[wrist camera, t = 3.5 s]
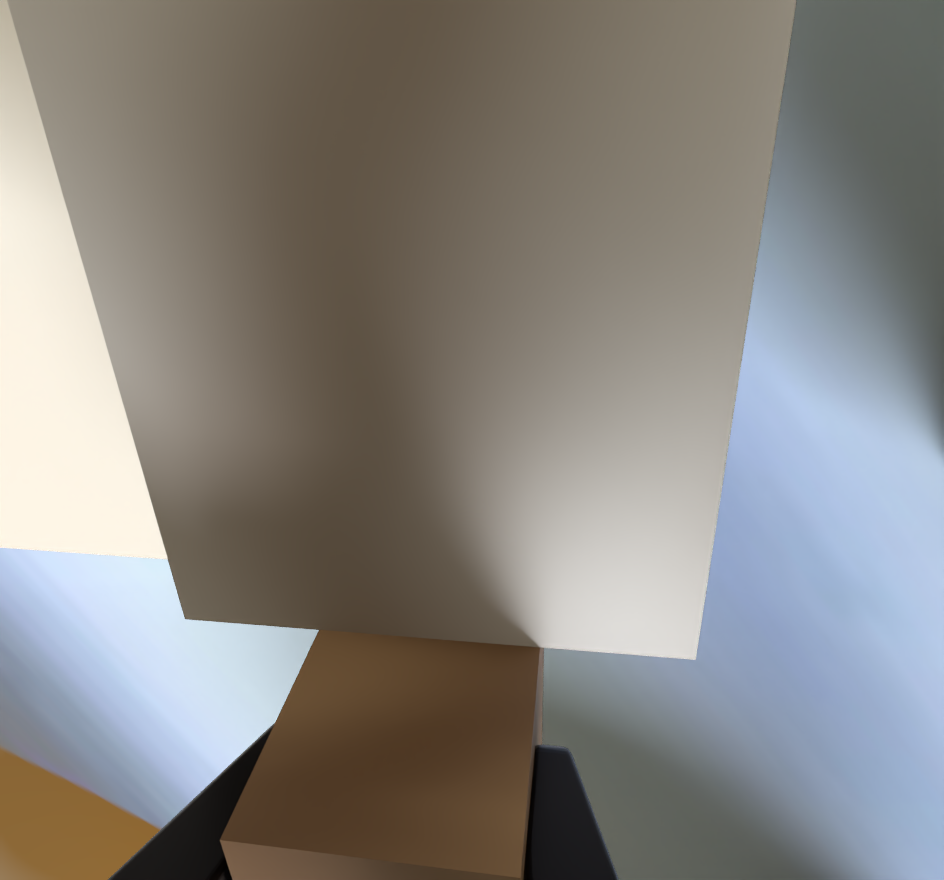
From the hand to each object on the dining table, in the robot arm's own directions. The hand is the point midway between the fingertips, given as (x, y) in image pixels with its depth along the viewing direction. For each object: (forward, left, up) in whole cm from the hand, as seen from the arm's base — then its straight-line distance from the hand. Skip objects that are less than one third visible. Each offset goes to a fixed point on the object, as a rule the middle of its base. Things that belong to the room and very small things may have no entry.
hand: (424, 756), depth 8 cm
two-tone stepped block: (0, -1, -2) cm, 2 cm away
